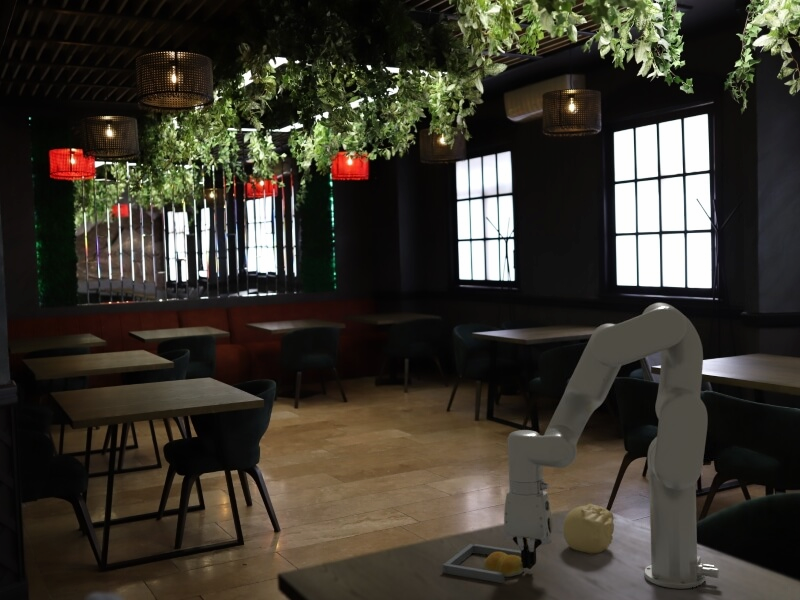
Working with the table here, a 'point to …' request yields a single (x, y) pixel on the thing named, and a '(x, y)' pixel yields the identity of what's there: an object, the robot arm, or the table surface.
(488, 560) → the bread roll
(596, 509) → the pale yellow rounded lump
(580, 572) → the table surface
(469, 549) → the bay
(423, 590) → the table surface
